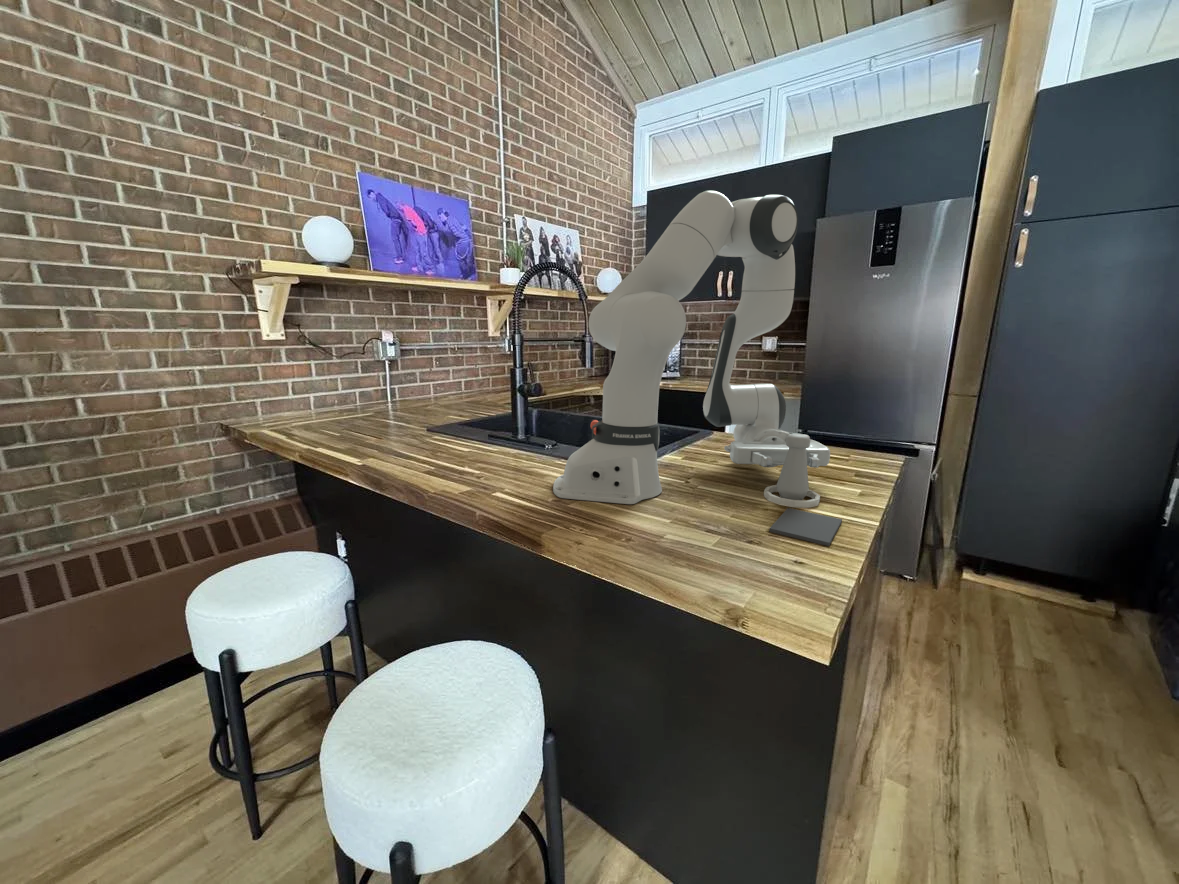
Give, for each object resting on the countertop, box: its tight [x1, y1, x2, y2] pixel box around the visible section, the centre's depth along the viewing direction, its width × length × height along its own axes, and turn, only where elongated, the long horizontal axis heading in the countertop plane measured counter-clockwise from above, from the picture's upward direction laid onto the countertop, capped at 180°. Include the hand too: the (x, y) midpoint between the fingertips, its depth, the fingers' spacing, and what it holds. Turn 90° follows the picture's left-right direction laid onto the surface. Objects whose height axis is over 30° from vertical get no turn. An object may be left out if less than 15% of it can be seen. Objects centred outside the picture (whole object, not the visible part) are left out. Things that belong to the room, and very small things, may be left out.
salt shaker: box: [776, 433, 811, 500], centre depth 93 cm, size 6×6×13 cm
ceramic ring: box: [763, 484, 821, 509], centre depth 94 cm, size 10×10×1 cm
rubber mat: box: [768, 507, 843, 547], centre depth 80 cm, size 12×9×1 cm
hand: (791, 463), depth 94 cm, fingers open, 8 cm apart
